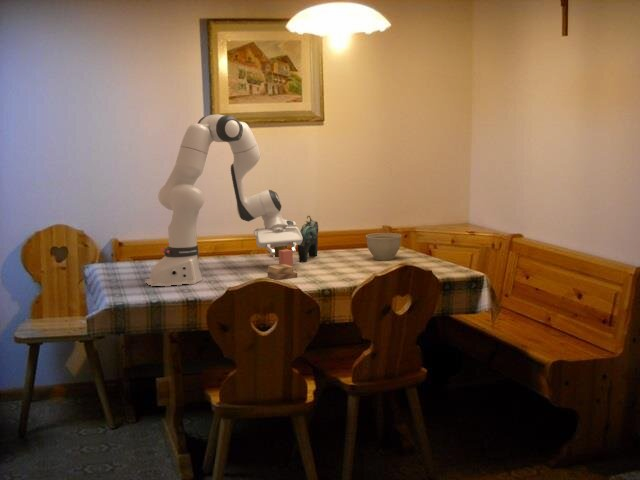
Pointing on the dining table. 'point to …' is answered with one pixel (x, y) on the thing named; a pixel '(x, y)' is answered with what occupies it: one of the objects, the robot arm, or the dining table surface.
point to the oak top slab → (280, 269)
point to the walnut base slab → (282, 276)
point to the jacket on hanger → (308, 240)
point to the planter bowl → (383, 245)
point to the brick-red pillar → (286, 257)
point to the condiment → (278, 251)
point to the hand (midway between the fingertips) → (283, 253)
